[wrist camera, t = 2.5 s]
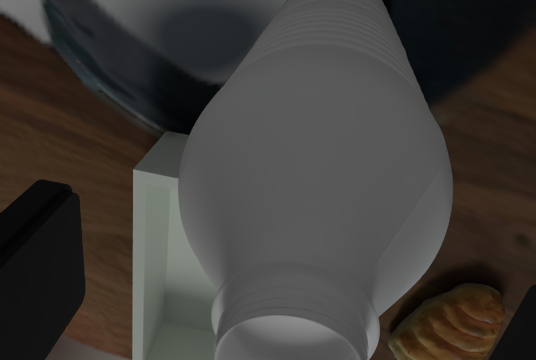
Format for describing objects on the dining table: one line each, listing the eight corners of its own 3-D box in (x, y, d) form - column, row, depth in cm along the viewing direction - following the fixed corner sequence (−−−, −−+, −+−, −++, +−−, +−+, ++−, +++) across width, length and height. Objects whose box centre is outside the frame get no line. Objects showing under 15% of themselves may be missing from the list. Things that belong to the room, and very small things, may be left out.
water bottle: (274, -23, 28) (6, 184, 6) (389, -34, 26) (583, 176, 5) (286, 117, 32) (153, 547, 10) (386, 113, 30) (482, 589, 9)
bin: (399, 176, 32) (409, 225, 27) (340, 358, 42) (339, 420, 36) (166, 130, 33) (133, 169, 28) (158, 317, 43) (132, 373, 37)
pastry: (449, 260, 35) (460, 295, 32) (524, 297, 36) (543, 336, 33) (381, 335, 40) (384, 372, 37) (449, 367, 41) (458, 406, 37)
